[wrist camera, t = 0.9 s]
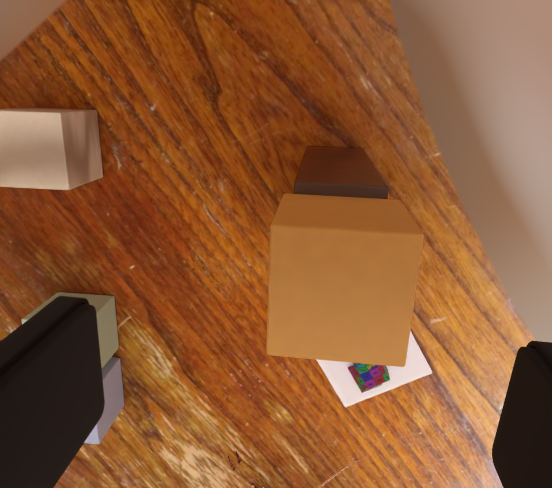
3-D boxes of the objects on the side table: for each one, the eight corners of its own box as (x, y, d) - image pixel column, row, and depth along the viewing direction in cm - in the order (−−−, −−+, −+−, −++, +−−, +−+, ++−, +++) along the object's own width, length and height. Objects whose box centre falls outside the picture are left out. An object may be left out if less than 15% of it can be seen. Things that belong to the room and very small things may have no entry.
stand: (307, 145, 33) (294, 181, 20) (363, 148, 32) (388, 186, 19) (303, 226, 35) (289, 308, 21) (356, 228, 34) (375, 314, 21)
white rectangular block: (306, 342, 38) (304, 359, 35) (395, 303, 36) (400, 318, 33) (345, 407, 39) (346, 427, 37) (432, 373, 37) (440, 392, 35)
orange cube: (283, 192, 20) (269, 224, 15) (400, 199, 19) (425, 233, 15) (279, 297, 21) (265, 356, 17) (387, 305, 21) (405, 368, 16)
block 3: (66, 353, 41) (32, 387, 36) (120, 357, 40) (93, 392, 35) (72, 399, 42) (40, 438, 38) (124, 404, 42) (99, 444, 37)
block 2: (57, 291, 39) (20, 319, 34) (114, 295, 38) (84, 324, 34) (64, 343, 40) (30, 376, 36) (119, 347, 40) (91, 382, 35)
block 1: (33, 107, 34) (-15, 109, 29) (97, 109, 33) (60, 112, 29) (42, 174, 36) (-2, 186, 31) (103, 177, 35) (69, 190, 30)
